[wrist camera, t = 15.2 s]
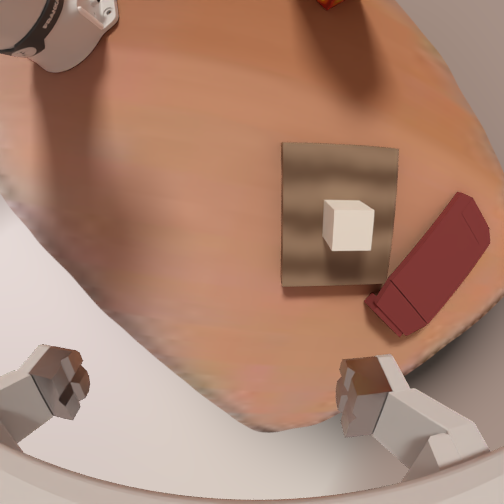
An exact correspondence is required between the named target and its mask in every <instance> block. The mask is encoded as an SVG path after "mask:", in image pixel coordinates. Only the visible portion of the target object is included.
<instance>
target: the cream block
mask: <svg viewBox="0 0 504 504" xmlns="http://www.w3.org/2000/svg"><path fill="white" fill-rule="evenodd" d="M374 211H375V210H373V209H372V208H370V207H369V206H367V205H366V204H364V203H363V202H361V201H360V200H324V213H323V235H322V236H323V238H324V239H325V241H326V242H327V244H328V245H329V247H330V249H331V250H332V251H371V244H372V234H373V224H374Z"/></svg>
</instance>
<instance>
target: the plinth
mask: <svg viewBox="0 0 504 504" xmlns="http://www.w3.org/2000/svg"><path fill="white" fill-rule="evenodd" d="M398 156H399V149H395V148H386V147H374V146H361V145H345V144H324V143H281V161H282V214H281V283H282V287H291V286H332V285H361V284H385V282H386V280H387V273H388V267H389V260H390V252H391V244H392V236H393V227H394V217H395V206H396V193H397V178H398ZM324 200H360V201H361V202H363V203H364V204H366V205H367V206H369V207H370V208H372V209H373V210H375V211H374V224H373V234H372V244H371V251H332V250H331V249H330V247H329V245H328V244H327V242H326V241H325V239H324V238H323V236H322V235H323V213H324Z"/></svg>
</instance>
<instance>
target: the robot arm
mask: <svg viewBox="0 0 504 504" xmlns="http://www.w3.org/2000/svg"><path fill="white" fill-rule="evenodd" d="M109 12H111V13H110V14H109V15H108V13H109ZM118 18H119V15H118V7H117V0H0V53H1V54H6V55H10V56H14V57H23V58H28V59H30V60H32V61H34V62H36V63H37V64H38V65H40V66H41V67H42V68H43V69H44V70H46V71H49V72H63V71H66V70H68V69H71V68H73V67H74V66H76V65H77V64H79V63H80V62H81V61H83V60H84V59H85V58H86V57H87V56H88V55H89V54H90V53H91V51H92V50H93V49H94V48H95V46H96V45H97V43H98V41H99V40H100V38H101V37H102V35H103V34H104V33H105V32H106V31H107V30H109V29H110V28H111V27H112V26H113V25H114V24H115V23H116V22H117V21H118ZM82 361H83V360H82V358H81V355H80V353H79V352H78V351H76V350H71V349H65V348H60V347H55V346H49V345H44V344H42V345H39V346H38V347H37V348H36V349H35V350H34V352H33V353H32V354H31V355H30V356H29V357H28V359H27V360H26V361H25V362H24V363H23V365H22V366H21V367H20V368H19V369H18V370H17V371H15V370H14V371H11V372H9V373H7V374H5V375H3V376H1V377H0V504H504V446H503V447H501V448H498V449H496V450H494V451H492V452H490V450H489V448H488V446H487V444H486V443H485V441H484V439H483V437H482V435H481V434H480V432H479V430H478V428H477V427H476V425H475V423H474V422H473V421H471V420H469V419H467V418H466V417H464V416H462V415H460V414H459V413H457V412H455V411H453V410H451V409H450V408H448V407H446V406H445V405H443V404H441V403H439V402H438V401H436V400H434V399H432V398H431V397H429V396H427V395H425V394H424V393H422V392H420V391H419V390H417V389H415V388H413V389H410V387H409V385H408V384H407V382H406V380H405V378H404V376H403V374H402V372H401V370H400V368H399V367H398V365H397V363H396V361H395V359H394V357H393V356H392V355H391V354H386V355H378V356H374V357H363V358H353V359H342V362H341V365H340V369H339V370H340V373H341V378H340V379H339V380H338V381H337V386H336V403H337V408H338V410H339V411H340V412H341V413H343V414H342V418H341V424H342V428H343V432H344V435H345V437H355V436H363V435H371V434H373V435H372V436H373V437H374V438H375V439H377V440H378V441H379V442H380V443H381V444H382V445H383V446H384V447H385V448H386V449H387V450H389V451H390V452H391V453H392V454H393V455H394V456H395V457H396V458H397V459H399V460H400V461H401V462H402V463H403V464H404V465H405V466H406V467H408V468H409V469H410V470H409V471H408V473H407V474H406V476H405V477H404V478H403V480H402V481H401V483H397V484H392V485H388V486H383V487H379V488H374V489H368V490H364V491H357V492H351V493H345V494H337V495H330V496H321V497H312V498H298V499H281V500H280V499H279V500H235V499H234V500H233V499H214V498H202V497H192V496H183V495H175V494H168V493H162V492H155V491H149V490H144V489H139V488H134V487H129V486H125V485H120V484H116V483H112V482H108V481H104V480H100V479H96V478H92V477H89V476H86V475H82V474H79V473H76V472H73V471H70V470H67V469H64V468H61V467H58V466H55V465H53V464H50V463H47V462H44V461H42V460H40V459H37V458H34V457H32V456H30V455H27V454H25V453H23V451H22V450H21V448H20V447H19V446H18V445H17V443H18V442H19V441H21V440H22V439H23V438H25V437H26V436H28V435H29V434H30V433H32V432H33V431H34V430H36V429H37V428H39V427H40V426H41V425H43V424H44V423H45V422H46V421H48V420H49V419H51V418H52V417H53V416H57V417H61V418H65V419H69V420H73V419H74V417H75V416H76V414H77V412H78V410H79V408H80V403H79V401H80V400H82V399H84V398H85V397H86V396H87V393H88V392H89V386H90V381H89V375H88V373H87V371H86V370H85V369H84V368H83V367H82V366H81V364H82ZM52 415H53V416H52Z"/></svg>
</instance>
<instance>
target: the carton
mask: <svg viewBox="0 0 504 504" xmlns="http://www.w3.org/2000/svg"><path fill="white" fill-rule="evenodd" d="M489 244H490V233H489V227H488V225H487V223H486V221H485V219H484V217H483V216H482V214H481V212H480V210H479V208H478V206H477V205H476V203H475V201H474V199H473V198H472V197H470V196H468V195H466V194H463V193H460V192H457V193H456V194H455V196H454V197H453V198H452V200H451V201H450V202H449V204H448V205H447V206H446V208H445V209H444V210H443V212H442V213H441V214H440V216H439V217H438V218H437V220H436V221H435V222H434V223H433V225H432V226H431V227H430V229H429V230H428V231H427V232H426V234H425V235H424V236H423V237H422V239H421V240H420V241H419V242H418V243H417V245H416V246H415V247H414V248H413V249H412V251H411V252H410V253H409V254H408V255H407V257H406V258H405V259H404V260H403V261H402V263H401V264H400V265H399V266H398V267H397V268H396V269H395V271H394V272H393V273H392V274H391V275H390V276H389V277H388V279H387V281H386V282H385V284H384V285H383V287H382V288H381V290H380V292H379V293H378V295H377V296H376V295H375V294H373V293H371V294H370V295H369V296H368V297H367V298H366V299H365V300H364V302H365V303H366V304H367V305H368V306H369V307H370V308H371V309H372V310H373V311H374V312H375V313H376V314H377V315H378V316H379V317H380V318H381V319H382V320H383V321H384V322H385V323H386V324H387V326H388V327H389V328H390V329H391V330H392V331H394V332H395V333H396V334H397V335H398V336H399V337H400V336H401V335H402V334H404V335H405V336H407V335H409V334H411V333H413V332H415V331H417V330H419V329H420V328H422V327H424V326H426V325H427V324H428V323H429V322H430V321H431V320H432V319H433V317H434V316H435V315H436V314H437V313H438V312H439V310H440V309H441V308H442V307H443V306H444V304H445V303H446V302H447V301H448V300H449V298H450V297H451V296H452V295H453V293H454V292H455V291H456V290H457V288H458V287H459V286H460V284H461V283H462V282H463V281H464V279H465V278H466V277H467V275H468V274H469V273H470V271H471V270H472V268H473V267H474V266H475V264H476V263H477V262H478V260H479V259H480V257H481V256H482V254H483V253H484V252H485V250H486V249H487V247H488V246H489ZM426 323H427V324H426Z"/></svg>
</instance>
